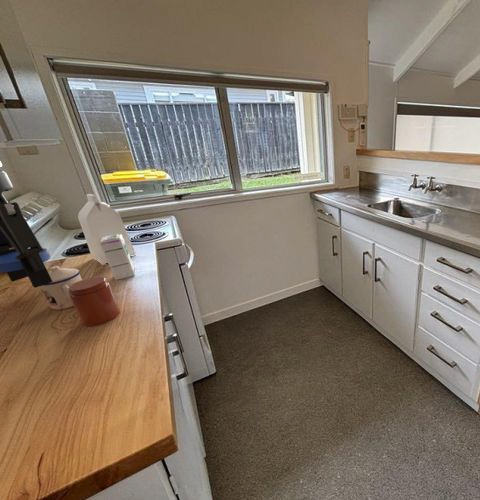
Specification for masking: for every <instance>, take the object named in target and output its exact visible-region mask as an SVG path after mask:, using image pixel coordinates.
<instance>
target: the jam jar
mask: <svg viewBox="0 0 480 500" xmlns="http://www.w3.org/2000/svg"><path fill="white" fill-rule="evenodd" d="M106 279H107V278H105V277H103V276H93V277H88V278H85V279H82V280H81V281H79V282H76V283H74V284H72V285H71V286H70V287H69V288H68V289H69V292H70V293H69V296H70V298H71V300H72V303H73V305H74V306H73V307H74V309H75V312H76V313H77V316H78V317H79V319H80V321H81V323H82V325H83V326H85V327H95V326H100V325H102V324H106V323H108V322H110V321H112V320H113V319H115V318H116V317H118V316H119V315H120V314H121V309H120V307H119V305H118V302H117V300H116V297H115V295H114V292H113V290H112V288H111V285H110V282H109V281H107V280H106Z"/></svg>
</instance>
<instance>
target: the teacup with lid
mask: <svg viewBox="0 0 480 500" xmlns="http://www.w3.org/2000/svg"><path fill="white" fill-rule="evenodd" d="M48 273H49V275H50V277H51V279H52V281H53V282H50V283H48V284H45V285H42V286H39V288H40V289H41V292H42V294H43V296H44V297H45V300H46V301H47V304H48V305H49V307H50V309H52V310H59V311H60V310H65V309H69V308H73V307H74V305H73V303H72V300H71V298H70V296H69V293H70V292H69V289H68V288H69V287H70V286H71V285H72V284H74V283H76V282H79V281H81V280H83V278H82V276H81V272H80V270H79V269H77V268H74V267H73V268H66V267H65V268H64V267H60V266H59V265H55V266H51V267H50V268H49V271H48Z"/></svg>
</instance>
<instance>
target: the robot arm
mask: <svg viewBox="0 0 480 500" xmlns="http://www.w3.org/2000/svg"><path fill="white" fill-rule="evenodd" d="M2 167H3V164H2V162H1V161H0V168H2ZM13 189H14V186H13V184H12V182H11V179H10V178H9V176H8V174H7V172H6V171H4V170H0V256H1V255H5V254H8V253H12V252H18V254H19V255H18V256H16V257H15V258H16V259H17V260H18V259H19V260H20V262H21V264H22V266H23V268H24V269H21V270H16V271H10V272H5V273H6V275H7V276H8V278H9V280H10V281H11V282H15V281H19V280H22V279H24V278H28V279H29V281H30V283H31V285H32V287H33V288H35V289H37V288H40V286H42V285H45V284H48V283H50V282H53V281H52V279H51V277H50V275H49V273H48V272H49V271H48V269H47V267H46V266H45V262H43V261H42V259H41V257H40V255H39V253H40V252H42V251H43V248H44V247H43V246H42V245H41V243H40V242H39V240H38V238H37V236H36V235H35V234H34V231H33V230H32V228H31V226H30V225H29V223H28V222H27V220H26V218H25V216H24V215H23V212H22V210H21V208H20V205H19V204H18V202H17V201H14V202H13V201H12V202H11V201H9V200H7V199H6V197H5V196H4V194H3V193H4V192H9V191H12V190H13Z"/></svg>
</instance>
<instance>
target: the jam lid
mask: <svg viewBox="0 0 480 500" xmlns="http://www.w3.org/2000/svg"><path fill="white" fill-rule="evenodd" d="M42 248H43V251H42V252H40V253H39V255H40V257H41V259H42V261H43V263H45V262H47V261H49V260H50V259H51V258H52V257H51V254H50V252H49V250H48V249H47V248H45V247H42ZM18 255H19V254H18V252H12V253H8V254H5V255H1V256H0V273H1V274H2V273H6V272H10V271H16V270H21V269H24V268H23V266H22V264H21V262H20V260H19V259H18V260H17V259H16V258H15V257H16V256H18Z"/></svg>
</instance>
